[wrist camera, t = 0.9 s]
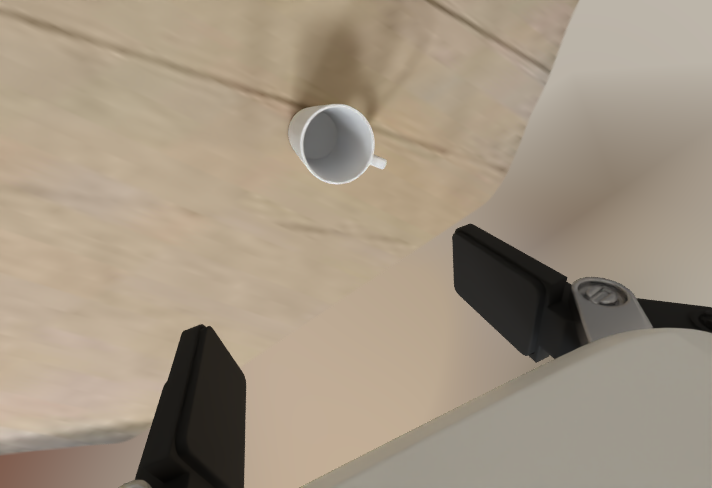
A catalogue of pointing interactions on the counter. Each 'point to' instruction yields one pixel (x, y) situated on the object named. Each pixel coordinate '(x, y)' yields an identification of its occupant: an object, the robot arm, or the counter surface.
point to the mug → (334, 142)
